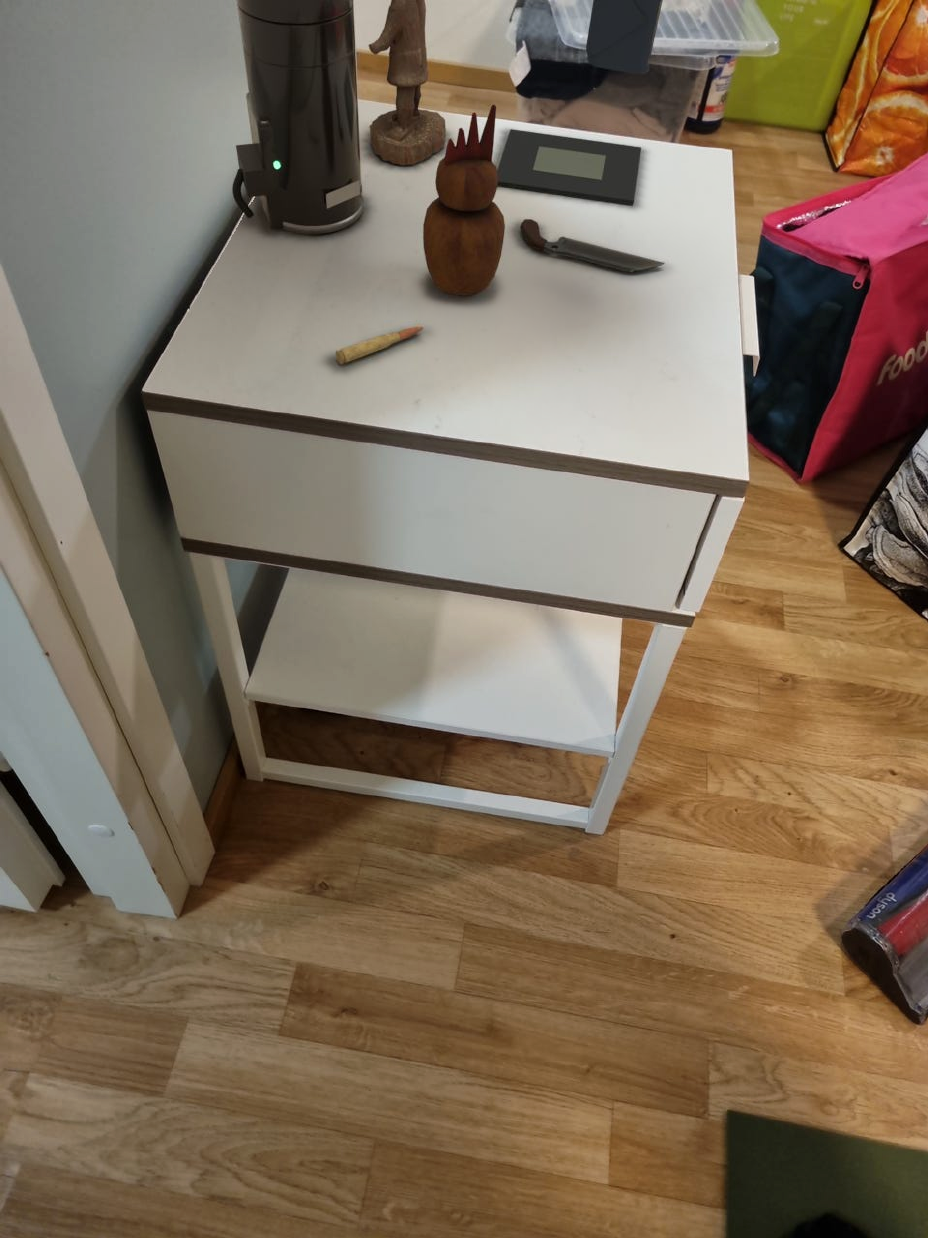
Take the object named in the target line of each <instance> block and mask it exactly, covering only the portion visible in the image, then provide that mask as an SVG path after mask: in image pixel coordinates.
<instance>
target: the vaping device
mask: <svg viewBox="0 0 928 1238" xmlns="http://www.w3.org/2000/svg"><path fill="white" fill-rule="evenodd" d="M663 1H664V0H593V1H592V6H591V13H590V19H589V24H588V25H589V26H588V32H587V38H586V45H585V53H586V55H587V57H586V60H587V62H588V63H589V64H590V65H591V66H592V67H595V68H598V69H599V68H600V69H605V70H611V71H614V72H621V73H625V74H632V75H641V76H642V75H646V74H648V72H649V71H650V69H651V64H650V61H651V56H652V53H653V52H652V51H653V49H654V42H655V38H656V33H657V29H658V24H659V19H660V15H661V11H662V5H663Z"/></svg>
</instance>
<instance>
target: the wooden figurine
mask: <svg viewBox="0 0 928 1238" xmlns="http://www.w3.org/2000/svg"><path fill="white" fill-rule="evenodd" d="M496 114H497V105H496V104H492V105H491V106H490V109H489V113H488V115H487V118H486V121H485V124H484V127H483V130H482V134H481V137H479V127H478V116H477V113H476V112H472V113H471V117H470V122H469V123H470V124H469V129H468V133H467V139H466V136H465V130H464V128H463V127H459V129H458V134H457V138H456V145H455V143H454V141H453V139H452V138H449V139H448V141H447V145H446V149H445V153H444V157H443V158H442V159H440V160H439V162H438V165H437V168H436V172H435V181H434V182H435V183H434V184H435V191H436V193H437V196H438V197H437V198H435V199H434V200H433V201H432V202H431V203H430V204H429V205H428V207H427V208H426V211H425V216H424V221H423V224H422V229H423V230H422V241H423V251H424V257H425V263H426V268H427V271H428V272H429V276H430V278H431V280H432V283H433V284H434V286H436V287H437V288H439V289H440V290H441V291H443V292H446V293H449V294H451V295H456V296H472V295H477V294H479V293H481V292H483V291H486V290H487V288H489V286H490V285H491V283H492V282H493V279H494V278H495V275H496V273H497V271H498V268H499V264H500V261H501V258H502V252H503V248H504V247H503V245H504V240H505V232H506V231H505V229H506V222H505V216H504V214H503V213H502V211H501V210H500V207H498V205H497V203H496V202H494V199H495V196H496V193H497V189H498V186H497V184H498V173H497V169H498V168H497V166H496V165H495V163H494V162H493V153H494V144H495V143H494V142H495V131H496V130H495V129H496Z"/></svg>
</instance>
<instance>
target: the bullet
mask: <svg viewBox="0 0 928 1238" xmlns="http://www.w3.org/2000/svg"><path fill="white" fill-rule="evenodd" d="M423 329H424V326H415V327H409V328H404V329H402V330H399V331H396V332H393V333H390V334H382V335H379V336H376V337H373V338H371V339H368V340H367V339H366V340H364V341H361V342H359V343H356V344H353V345H350V346H347V347H344V348H341V349H339V350H336V351H335V358H336V361H337V362H338V363H339V364H340V365H343V364H347V363H349V362H352V361H354V360H357V359H360V358H362V357H365V356H368V355H371V354H373V353H376V352H378V351H382V350H383V349H386V348H389V347H390V346H391V345H392V344H395V343H398V342H400V341H403V340H406V339H407V338H410V337H413V336H414V335H416V334H417V333H419V332H421V331H422V330H423Z"/></svg>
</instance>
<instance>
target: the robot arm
mask: <svg viewBox="0 0 928 1238" xmlns="http://www.w3.org/2000/svg"><path fill="white" fill-rule="evenodd" d="M354 2H355V1H354V0H236V5H237V13H238V21H239V28H240V35H241V42H242V43H241V44H242V51H243V52H242V53H243V58H244V66H245V73H246V82H247V88H248V89H247V90H248V92H247V93H246V94H245V95H246V96H245V98H246V106H247V107H246V108H247V113H248V121H249V128H250V129H249V130H250V135H251V142H252V143H244V144H236V145H235V149H236V155H237V163H238V169H237V170H236V174H235V177H234V180H233V182H232V188H231V189H232V196H233V199H234V202H235V204H236V205H237V206H238V208H239V209H240V210H241V212H242V213H243V214H244V215H245V217H246V218H247V219H252V218H253V217H254V216H255V212H254V211H253V210H252V209H251V207H250V206H249V205H248V203H247V202H246V200H245V199H244V197H243V195H242V194H243V193H242V185H244V189H245V192H246V195H247V197H248V198H254V197H259V199H260V202H261V205H262V209H263V213H264V215H265V217H266V220H267V223H268V225H269V229H270V230H272V231H277V230H286V231H289V232H293V233H296V234H297V233H298V234H306V235H307V234H309V235H316V234H319V235H320V234H328V233H333V232H336V231H340V230H343V229H345V228H347V227H349V226H351V225H352V224H354V223H355V222H356V221H358V219H360V217H361V216H362V214H363V212H364V198H363V184H362V169H361V168H362V167H361V147H360V146H361V143H360V125H359V124H360V123H359V122H360V120H359V100H358V99H359V98H358V82H357V81H358V79H357V78H358V76H357V57H356V33H355V32H356V31H355V30H356V29H355V9H354V8H355V7H354V6H355V5H354Z"/></svg>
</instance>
